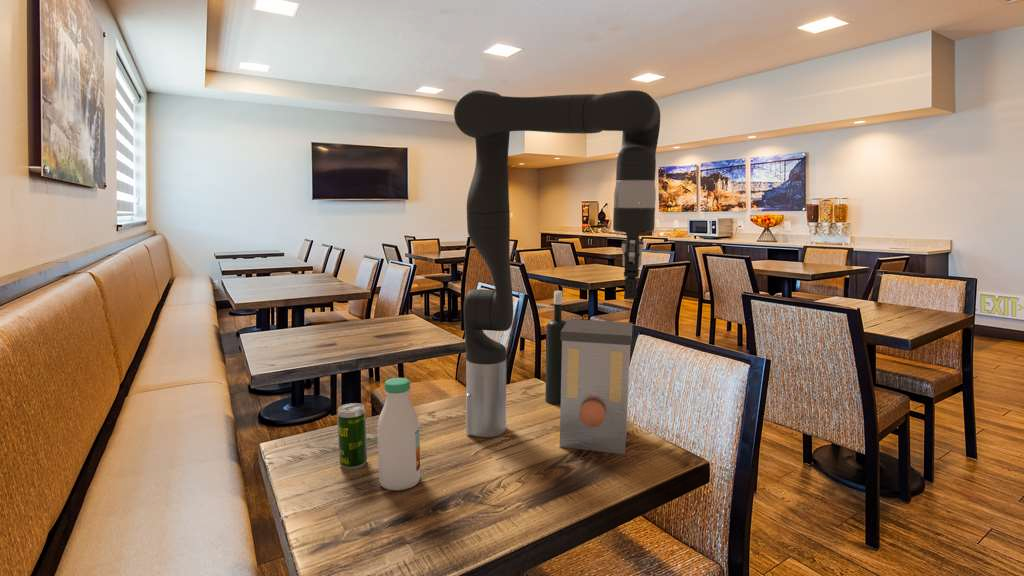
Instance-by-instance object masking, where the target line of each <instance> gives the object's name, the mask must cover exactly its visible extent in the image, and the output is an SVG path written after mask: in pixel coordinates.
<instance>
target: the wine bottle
mask: <svg viewBox="0 0 1024 576" xmlns="http://www.w3.org/2000/svg"><path fill="white" fill-rule="evenodd" d="M553 304H554V306H553V319H552V320H549V321H548V323H546V343H545V345H546V346H545V347H546V349H545V399H544V400H545V402H546V403H548V404H550V405H561V367H562V341H560V340H561V330H562V329H563V327H564V325H565V324H566V322H567V321H566V320H564V319H562V316H563V315H562V313H563V311H562V310H563V309H562V308H563V307H562V306H563V291H562V290H554V293H553Z"/></svg>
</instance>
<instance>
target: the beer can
mask: <svg viewBox="0 0 1024 576" xmlns="http://www.w3.org/2000/svg"><path fill="white" fill-rule="evenodd" d="M366 418H367V417H366V409H365V406H364V404H363V403H358V402H356V403H355V402H353V403H352V402H351V403H345V404H342V405H340V406H339V407H338V412H337V436H338V437H337V438H338V452H339V453H338V456H339V457H338V459H339V460H338V461H339V464H340V467H341V468H343V469H344V470H349V471H350V470H357V469H359V468H362V467H364V466H365V465H366V463H367V460H368V448H367V422H366V421H367V420H366Z"/></svg>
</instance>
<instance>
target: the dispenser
mask: <svg viewBox="0 0 1024 576" xmlns="http://www.w3.org/2000/svg"><path fill="white" fill-rule="evenodd" d="M632 337H633V322H627V321H624V322H623V321H608V320H594V319H593V320H589V319H573V318H569V319H568V320H567V321H566V324H565V325H564V327H563V329H562V330H561V340H560V341H562V367H561V404H560V414H559V415H560V416H559V417H560V418H559V419H560V421H559V448H565V449H576V450H583V451H592V452H601V453H609V454H610V453H611V454H618V455H626V442H627V433H628V432H627V431H628V430H627V429H628V409H629V387H630V386H629V383H630V360H631V346H632V339H633V338H632ZM588 400H596V401H598V402H600V403H601V404H602V405H603V407H604V409H605V417H604V421H603V422H602V424H601V425H599V426H597V427H589V426H587V425H585V424H584V423H583V422H582V421H581V419H580V415H579V414H580V409H581V406H582V405H583V403H585V402H586V401H588Z"/></svg>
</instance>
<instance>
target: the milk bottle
mask: <svg viewBox="0 0 1024 576" xmlns="http://www.w3.org/2000/svg"><path fill="white" fill-rule="evenodd" d="M410 389H411V381H410V380H409V378H405V377H393V378H389V379H387V380H386V381H384V394H385V395H386V396H385V402H384V404H383V407H382V410H381V412H380V414H379V418H378V422H377V455H378V456H377V457H378V458H377V459H378V460H377V461H378V481H379V482H378V483H379V484H380V486H381V487H382V488H383V489H385V490H389V491H397V492H398V491H404V490H408V489H411V488H413V487H415V486H416V485H417V484H418V483H419V481H420V479H421V449H420V448H421V447H420V445H421V444H420V441H421V439H420V426H419V425H420V424H419V423H420V422H419V419H418V415H417V412H416V410H415V407H414V405H413V403H412V401H411V399H410V392H411V390H410Z"/></svg>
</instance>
